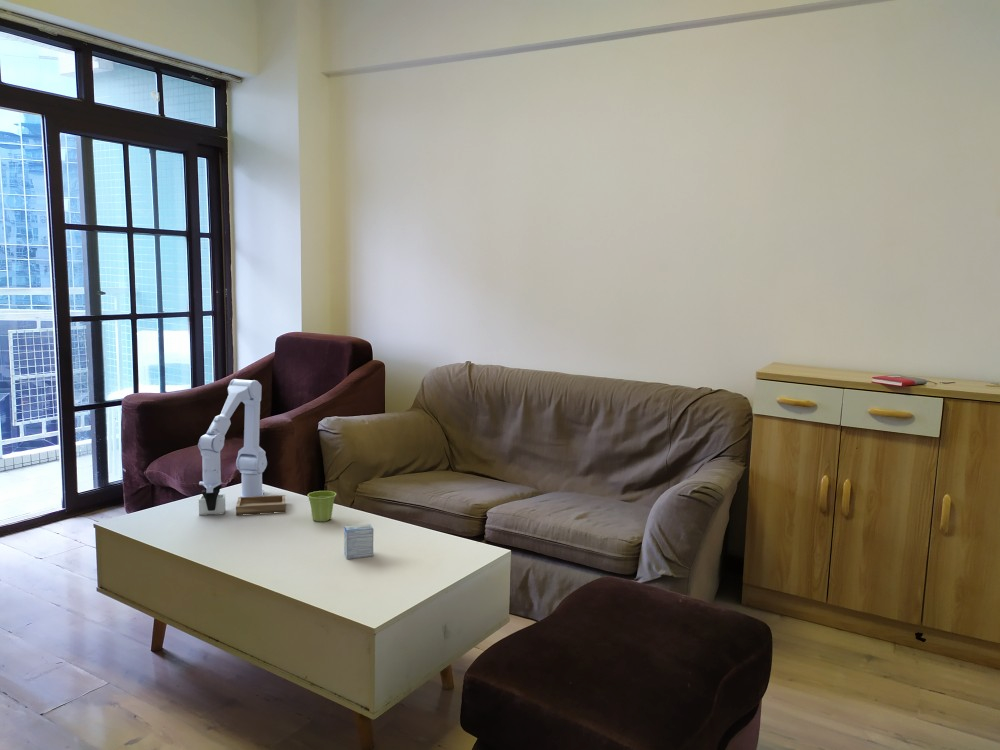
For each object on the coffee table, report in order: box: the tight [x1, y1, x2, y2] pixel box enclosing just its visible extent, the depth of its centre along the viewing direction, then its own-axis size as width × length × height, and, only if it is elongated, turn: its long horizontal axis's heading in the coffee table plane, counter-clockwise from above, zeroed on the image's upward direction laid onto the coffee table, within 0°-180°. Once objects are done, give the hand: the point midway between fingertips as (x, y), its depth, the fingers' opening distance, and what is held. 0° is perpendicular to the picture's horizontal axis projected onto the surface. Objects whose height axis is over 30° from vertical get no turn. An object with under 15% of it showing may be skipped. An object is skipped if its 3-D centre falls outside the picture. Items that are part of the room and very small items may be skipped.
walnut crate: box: [235, 494, 286, 516], centre depth 258 cm, size 12×16×3 cm
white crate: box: [198, 493, 226, 516], centre depth 252 cm, size 5×8×6 cm, turn 106°
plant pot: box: [307, 490, 337, 522], centre depth 248 cm, size 9×9×9 cm
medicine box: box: [343, 523, 374, 560], centre depth 215 cm, size 8×4×9 cm, turn 111°
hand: (212, 507), depth 253 cm, fingers closed on white crate, 5 cm apart
